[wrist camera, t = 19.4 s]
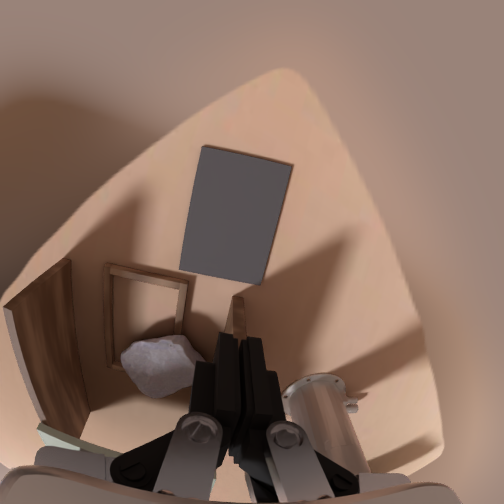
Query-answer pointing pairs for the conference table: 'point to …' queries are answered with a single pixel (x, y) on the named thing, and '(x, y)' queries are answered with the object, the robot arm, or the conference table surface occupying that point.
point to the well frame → (64, 339)
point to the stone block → (161, 364)
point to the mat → (233, 215)
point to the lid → (76, 443)
